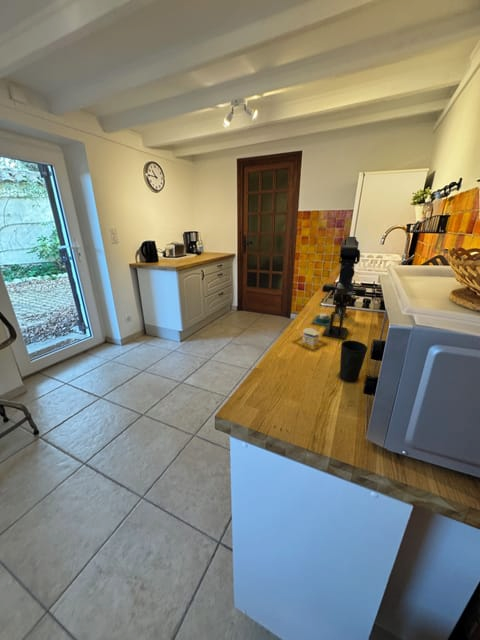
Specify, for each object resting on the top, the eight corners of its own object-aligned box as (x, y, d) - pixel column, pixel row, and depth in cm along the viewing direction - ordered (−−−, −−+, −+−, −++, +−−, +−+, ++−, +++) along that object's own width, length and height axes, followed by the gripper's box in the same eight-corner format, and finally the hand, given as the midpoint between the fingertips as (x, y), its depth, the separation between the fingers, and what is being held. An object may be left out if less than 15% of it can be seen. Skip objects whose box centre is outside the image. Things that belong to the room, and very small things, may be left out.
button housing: (316, 318, 136) (317, 312, 135) (332, 320, 132) (333, 315, 131) (312, 324, 128) (312, 319, 126) (328, 327, 124) (329, 321, 123)
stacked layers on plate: (325, 344, 108) (327, 332, 106) (312, 350, 102) (314, 338, 100) (306, 336, 115) (307, 325, 113) (293, 342, 110) (294, 330, 108)
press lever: (337, 311, 125) (338, 305, 124) (344, 312, 124) (345, 306, 122) (332, 321, 115) (333, 314, 113) (340, 322, 113) (341, 316, 112)
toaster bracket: (327, 327, 124) (330, 308, 121) (347, 330, 120) (350, 311, 117) (322, 336, 114) (324, 316, 111) (343, 340, 110) (346, 320, 107)
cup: (356, 371, 88) (362, 340, 84) (364, 384, 81) (371, 352, 77) (334, 370, 89) (338, 339, 85) (339, 383, 82) (345, 351, 78)
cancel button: (320, 316, 131) (320, 313, 130) (327, 317, 130) (327, 314, 129) (318, 318, 128) (319, 315, 128) (326, 319, 127) (326, 316, 126)
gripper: (321, 276, 114) (317, 309, 119) (367, 280, 105) (361, 315, 111) (326, 272, 123) (322, 302, 128) (369, 275, 114) (363, 308, 120)
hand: (341, 307), depth 122 cm, fingers closed
